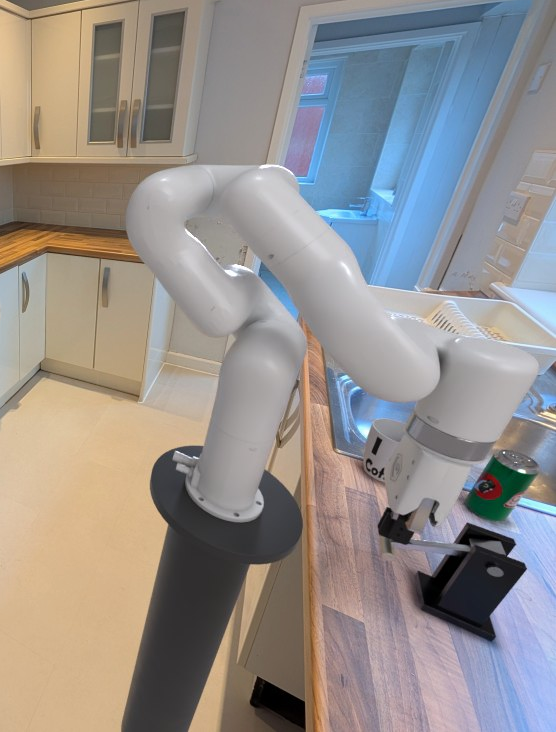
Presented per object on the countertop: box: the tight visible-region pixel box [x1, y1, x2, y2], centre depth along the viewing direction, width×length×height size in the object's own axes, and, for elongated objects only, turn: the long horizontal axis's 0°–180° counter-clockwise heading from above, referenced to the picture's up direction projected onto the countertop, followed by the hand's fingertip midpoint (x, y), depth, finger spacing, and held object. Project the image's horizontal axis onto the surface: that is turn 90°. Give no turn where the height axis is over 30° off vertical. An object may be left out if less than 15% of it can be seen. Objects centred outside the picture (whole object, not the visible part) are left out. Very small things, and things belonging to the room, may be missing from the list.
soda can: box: [464, 448, 540, 522], centre depth 71 cm, size 5×5×12 cm
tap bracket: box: [414, 522, 528, 643], centre depth 56 cm, size 7×6×13 cm
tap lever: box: [378, 534, 506, 562], centre depth 58 cm, size 12×6×2 cm, turn 54°
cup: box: [362, 417, 407, 483], centre depth 79 cm, size 8×8×10 cm
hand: (391, 535), depth 60 cm, fingers closed
